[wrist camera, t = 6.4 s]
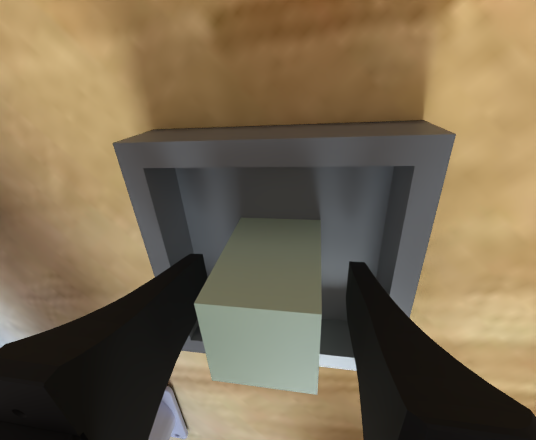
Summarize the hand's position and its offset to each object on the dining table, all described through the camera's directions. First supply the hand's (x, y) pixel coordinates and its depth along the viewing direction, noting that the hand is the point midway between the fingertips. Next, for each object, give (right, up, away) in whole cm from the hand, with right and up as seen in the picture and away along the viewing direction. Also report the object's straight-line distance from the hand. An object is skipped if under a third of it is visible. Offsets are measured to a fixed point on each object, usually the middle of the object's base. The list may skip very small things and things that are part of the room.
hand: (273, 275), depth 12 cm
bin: (+1, +1, +3) cm, 3 cm away
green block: (0, +1, +2) cm, 2 cm away
